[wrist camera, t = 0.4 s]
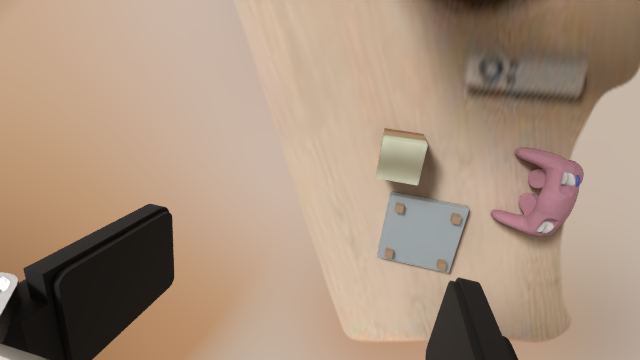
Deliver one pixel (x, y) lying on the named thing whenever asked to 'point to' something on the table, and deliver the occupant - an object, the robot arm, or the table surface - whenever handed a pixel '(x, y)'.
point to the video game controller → (545, 194)
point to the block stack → (401, 156)
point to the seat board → (422, 231)
